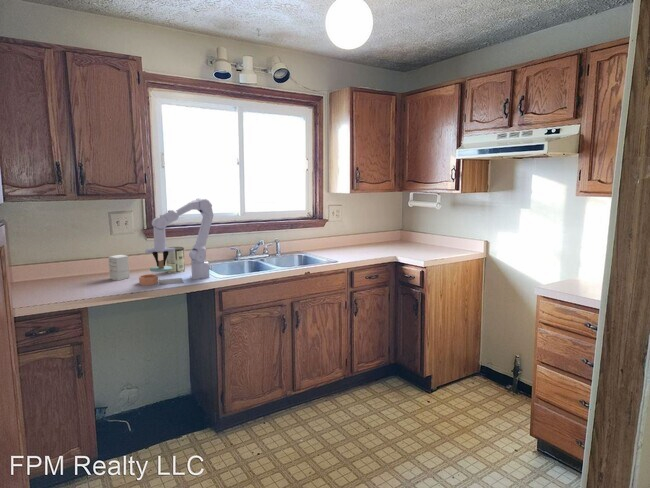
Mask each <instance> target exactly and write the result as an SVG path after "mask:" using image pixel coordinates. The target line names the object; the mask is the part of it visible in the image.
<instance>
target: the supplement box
mask: <svg viewBox="0 0 650 488" xmlns="http://www.w3.org/2000/svg"><path fill="white" fill-rule="evenodd" d="M107 259H108V267H109V268H108V269H109V280H114V281H121V280H122V281H123V280H126V279H127V280H128V279H129V278H130V266H129V265H130V264H129V255H125V254H116V255H110V256H108V258H107Z"/></svg>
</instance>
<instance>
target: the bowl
mask: <svg viewBox="0 0 650 488" xmlns="http://www.w3.org/2000/svg"><path fill="white" fill-rule="evenodd" d="M158 280H159V276H158V274H153V273H148V274H142V275H139V276H138V284H139V286H140V285H141V286H151V285H152V286H153V285H156V284H159V281H158Z"/></svg>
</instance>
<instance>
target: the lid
mask: <svg viewBox="0 0 650 488" xmlns="http://www.w3.org/2000/svg"><path fill="white" fill-rule="evenodd" d="M158 264H159V266H157V265H156V266H153V267H149V271H150V272H155V273H160V272H161V273H163V272H164V273H165V272H167V271H169V270H172V267H171V266H167V265H165V266H164V261H163V259H162V260H161V259H158Z"/></svg>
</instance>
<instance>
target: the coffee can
mask: <svg viewBox="0 0 650 488" xmlns="http://www.w3.org/2000/svg"><path fill="white" fill-rule="evenodd" d="M168 248H175V252H168V253H169V254H168V256H167V259H166V262H165V264H166V266H171V267H172V270H169V271H166V273H168V274H177V273H183V272H186V270H185V269H186V267H185V247H183V246H171V247H168Z"/></svg>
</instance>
